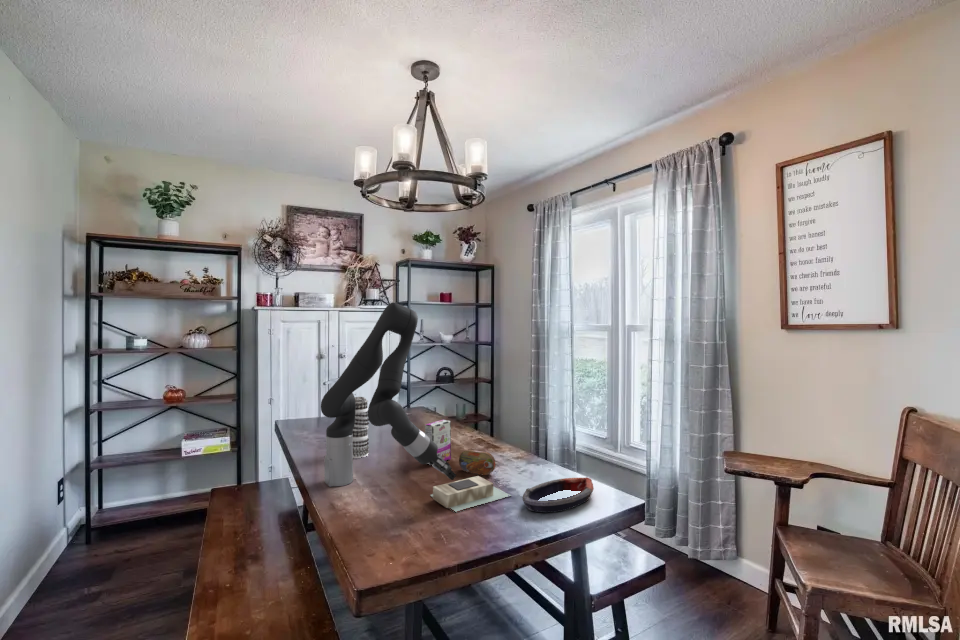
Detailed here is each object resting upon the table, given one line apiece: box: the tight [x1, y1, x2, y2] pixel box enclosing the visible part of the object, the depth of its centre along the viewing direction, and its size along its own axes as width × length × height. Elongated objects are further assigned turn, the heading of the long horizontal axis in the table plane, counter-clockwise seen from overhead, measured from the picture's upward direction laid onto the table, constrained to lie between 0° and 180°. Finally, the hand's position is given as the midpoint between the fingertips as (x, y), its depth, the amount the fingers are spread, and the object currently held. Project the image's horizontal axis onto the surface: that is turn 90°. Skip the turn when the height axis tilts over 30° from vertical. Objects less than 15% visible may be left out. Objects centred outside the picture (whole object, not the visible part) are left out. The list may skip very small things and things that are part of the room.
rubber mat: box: [430, 485, 512, 513], centre depth 154 cm, size 22×16×1 cm
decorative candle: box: [353, 396, 370, 459], centre depth 199 cm, size 9×9×25 cm
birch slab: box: [432, 475, 494, 509], centre depth 152 cm, size 4×9×18 cm
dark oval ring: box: [521, 476, 595, 513], centre depth 150 cm, size 16×31×5 cm, turn 126°
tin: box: [458, 449, 496, 476], centre depth 177 cm, size 15×3×8 cm, turn 62°
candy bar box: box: [424, 419, 452, 465], centre depth 190 cm, size 11×5×16 cm, turn 143°
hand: (453, 477), depth 150 cm, fingers closed
